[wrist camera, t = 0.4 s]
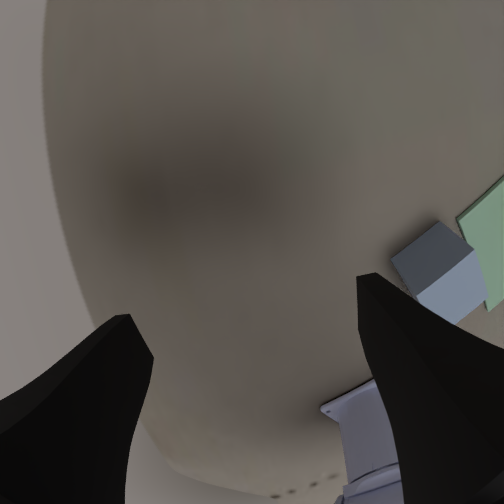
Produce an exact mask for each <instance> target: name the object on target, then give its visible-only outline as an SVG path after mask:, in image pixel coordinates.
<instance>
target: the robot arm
mask: <svg viewBox="0 0 504 504" xmlns="http://www.w3.org/2000/svg"><path fill="white" fill-rule="evenodd" d="M356 282H357V304H358V331H359V334H360V338H361V342H362V346H363V349H364V353H365V357H366V359H367V362H368V365H369V367H370V370H371V372H372V375H373V378H374V379H373V380H371V381H369V382H367V383H366V384H364V385H362V386H360V387H358V388H356V389H355V390H353V391H351V392H349V393H347V394H345V395H343V396H341V397H339V398H337V399H335V400H333V401H331V402H329V403H327V404H325V405H323V406H321V408H320V409H321V412H323V413H324V414H326V415H327V416H329V417H330V418H332V419H333V420H335V421H336V422H338V423H339V427H340V432H341V438H342V445H343V451H344V457H345V464H346V471H347V478H348V485H345V486H343V492H344V494H343V495H340V496H339V497H338V498H337V499H336V501H335V503H334V504H504V349H503V348H500V347H498V346H495V345H493V344H491V343H489V342H486V341H484V340H482V339H480V338H478V337H476V336H474V335H472V334H470V333H468V332H466V331H464V330H463V329H461V328H459V327H457V326H455V325H454V324H452V323H450V322H449V321H447V320H445V319H444V318H442V317H440V316H439V315H437V314H435V313H434V312H432V311H431V310H429V309H428V308H426V307H425V306H423V305H422V304H420V303H419V302H417V301H416V300H414V299H413V298H411V297H410V296H409V295H407V294H406V293H404V292H403V291H402V290H400V289H399V288H397V287H396V286H395V285H393V284H392V283H390V282H389V281H388V280H386V279H385V278H383V277H382V276H381V275H379V274H378V273H376V272H375V273H370V274H366V275H361V276H356ZM153 361H154V357H153V355H152V353H151V352H150V350H149V348H148V346H147V345H146V343H145V341H144V339H143V338H142V336H141V334H140V332H139V330H138V328H137V327H136V325H135V323H134V321H133V319H132V317H131V315H130V314H123V315H115V316H114V317H112V318H111V319H109V320H108V321H106V322H105V323H104V324H102V325H101V326H100V327H99V328H97V329H96V330H95V331H94V332H93V333H91V334H90V335H89V336H88V337H86V338H85V339H84V340H83V341H82V342H81V343H80V344H78V345H77V346H76V347H75V348H74V349H72V350H71V351H70V352H69V353H68V354H66V355H65V356H64V357H63V358H62V359H60V360H59V361H58V362H57V363H55V364H54V365H53V366H52V367H51V368H49V369H48V370H47V371H45V372H44V373H43V374H41V375H40V376H39V377H37V378H36V379H34V380H33V381H32V382H30V383H29V384H27V385H26V386H24V387H23V388H21V389H20V390H18V391H16V392H14V393H12V394H11V395H9V396H7V397H6V398H4V399H2V400H0V504H125V483H126V472H127V465H128V458H129V452H130V446H131V442H132V438H133V434H134V431H135V427H136V425H137V421H138V418H139V415H140V412H141V409H142V406H143V403H144V399H145V396H146V393H147V390H148V387H149V383H150V378H151V373H152V367H153Z"/></svg>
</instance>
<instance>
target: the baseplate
mask: <svg viewBox="0 0 504 504" xmlns="http://www.w3.org/2000/svg"><path fill="white" fill-rule="evenodd" d="M456 220H457V223H458V225H459V227H460V230H461V232H462V235H463V238H464V240H465V242H467V243H468V244H469V245H470V246H471V247H473V248H474V249H475V252H476V255H477V258H478V261H479V264H480V267H481V271H482V274H483V278H484V281H485V285H486V289H487V292H488V296H489V297H488V298H487V299H486V300H484V303H485V306H486V310H487V311H488V312H489V311H490V310H491V309H493V308H494V307H495V306H496V305H497V304H498V303H499V302H501V301H502V300H503V299H504V176H503V177H502V178H501V179H500V180H499V181H498V182H497V183H496V184H495V185H494V186H492V187H491V188H490V189H489V190H488V191H487V192H486V193H485V194H484V195H483V196H482V197H480V198H479V199H478V200H477V201H476V202H475V203H474V204H473V205H471V206H470V207H469V208H468V209H467V210H466V211H465V212H463V213H462V214H461V215H460V216H459V217H458V218H456Z"/></svg>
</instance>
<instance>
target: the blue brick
mask: <svg viewBox="0 0 504 504" xmlns="http://www.w3.org/2000/svg"><path fill="white" fill-rule="evenodd" d="M390 260H391V261H392V263H393V265H394V266H395V268H396V270H397V271H398V273H399V274H400V276H401V278H402V279H403V281H404V283H405V285H406V286H407V288H408V290H409V291H410V293H411V295H412V297H413V298H414V300H416V301H417V302H419V303H420V304H422V305H423V306H425V307H426V308H428V309H429V310H431V311H432V312H434V313H435V314H437V315H439V316H440V317H442V318H444V319H445V320H447V321H449V322H450V323H452V324H454V325H455V324H456V323H457V322H459V321H460V320H461V319H462V318H464V317H465V316H466V315H467V314H469V313H470V312H471V311H472V310H474V309H475V308H476V307H477V306H479V305H480V304H481V303H482V302H483V301H484V300H486V299H487V298H488V297H489V296H488V292H487V289H486V285H485V281H484V278H483V274H482V271H481V267H480V264H479V261H478V258H477V255H476V252H475V249H474V248H473V247H471V246H470V245H469V244H468V243H467V242H465V241H464V240H463V239H462V238H461V237H459V236H458V235H457V234H456V233H454V232H453V231H452V230H451V229H449V228H448V227H447V226H446V225H444V224H443V223H442V222H440V221H439V222H438V223H436V224H435V225H434V226H433V227H431V228H430V229H429V230H428V231H426V232H425V233H424V234H423V235H421V236H420V237H419V238H417V239H416V240H415V241H414V242H412V243H411V244H410V245H408V246H407V247H406V248H404V249H403V250H402V251H401V252H399V253H398V254H397V255H395V256H394V257H393V258H391V259H390Z"/></svg>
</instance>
